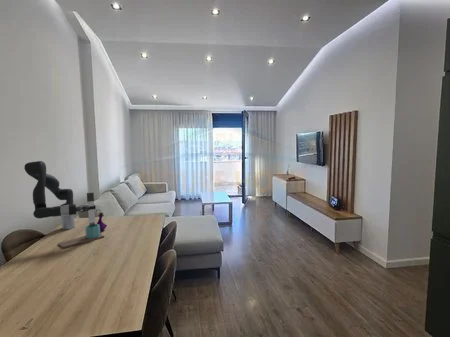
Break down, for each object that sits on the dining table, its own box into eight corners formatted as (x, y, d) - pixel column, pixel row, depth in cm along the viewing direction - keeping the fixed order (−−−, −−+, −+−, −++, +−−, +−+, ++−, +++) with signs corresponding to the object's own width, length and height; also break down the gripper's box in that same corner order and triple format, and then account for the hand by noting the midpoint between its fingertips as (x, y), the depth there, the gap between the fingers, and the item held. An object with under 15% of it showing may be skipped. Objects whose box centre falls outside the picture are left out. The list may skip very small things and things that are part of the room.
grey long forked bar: (88, 224, 191) (86, 193, 189) (95, 223, 193) (93, 192, 191) (88, 226, 188) (86, 193, 186) (95, 225, 190) (93, 193, 188)
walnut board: (58, 244, 180) (57, 243, 180) (97, 233, 200) (97, 232, 200) (63, 248, 172) (63, 247, 172) (104, 237, 192) (104, 236, 192)
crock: (84, 236, 192) (83, 226, 191) (97, 233, 198) (96, 223, 198) (89, 239, 186) (88, 228, 185) (102, 235, 192) (101, 225, 192)
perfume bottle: (107, 229, 211) (105, 207, 209) (102, 232, 203) (100, 210, 202) (98, 229, 212) (97, 207, 210) (93, 232, 204) (91, 210, 202)
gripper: (67, 206, 177) (95, 203, 185) (68, 203, 189) (95, 200, 197) (68, 217, 177) (96, 214, 185) (69, 213, 190) (95, 209, 198)
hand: (95, 207), depth 191 cm, fingers closed on grey long forked bar, 3 cm apart
